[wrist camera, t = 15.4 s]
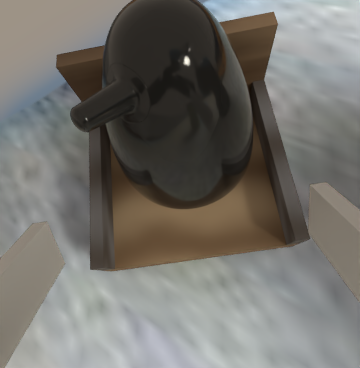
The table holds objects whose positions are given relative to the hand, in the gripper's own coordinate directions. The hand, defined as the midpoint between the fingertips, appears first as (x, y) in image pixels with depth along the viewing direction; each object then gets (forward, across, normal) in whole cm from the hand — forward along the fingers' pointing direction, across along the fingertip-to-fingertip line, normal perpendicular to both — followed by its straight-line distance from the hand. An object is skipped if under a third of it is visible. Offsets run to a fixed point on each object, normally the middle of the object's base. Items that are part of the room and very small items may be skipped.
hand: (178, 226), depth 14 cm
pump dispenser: (+12, +1, -1) cm, 12 cm away
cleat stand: (+12, 0, -3) cm, 13 cm away
